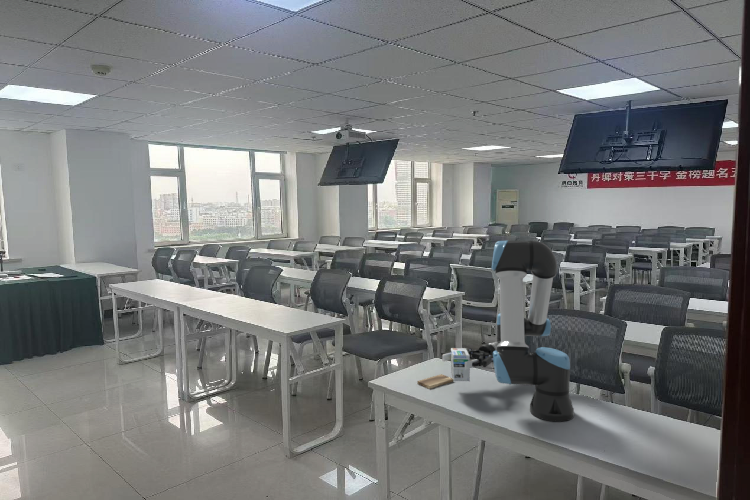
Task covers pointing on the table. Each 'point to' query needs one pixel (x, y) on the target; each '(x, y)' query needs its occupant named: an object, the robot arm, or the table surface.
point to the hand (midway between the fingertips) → (453, 361)
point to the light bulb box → (459, 364)
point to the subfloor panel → (435, 381)
